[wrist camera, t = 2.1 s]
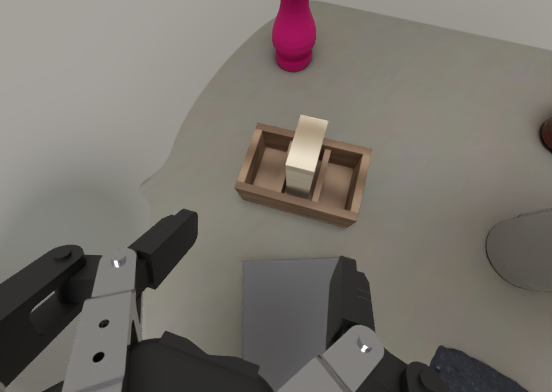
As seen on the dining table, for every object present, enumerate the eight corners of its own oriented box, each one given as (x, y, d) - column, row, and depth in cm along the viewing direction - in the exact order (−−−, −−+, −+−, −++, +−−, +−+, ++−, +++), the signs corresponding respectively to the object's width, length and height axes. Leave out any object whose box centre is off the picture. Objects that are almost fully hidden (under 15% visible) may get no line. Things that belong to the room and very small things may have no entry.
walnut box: (346, 228, 35) (356, 221, 29) (242, 199, 37) (234, 187, 31) (359, 166, 37) (372, 149, 32) (262, 142, 39) (257, 122, 34)
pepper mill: (310, 39, 45) (324, -129, 26) (316, 71, 43) (338, -87, 24) (271, 45, 45) (257, -118, 26) (276, 77, 43) (265, -75, 24)
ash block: (306, 202, 35) (314, 171, 24) (286, 196, 36) (285, 164, 24) (316, 165, 37) (328, 120, 25) (297, 161, 37) (300, 114, 26)
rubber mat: (244, 261, 34) (243, 261, 34) (342, 257, 34) (343, 257, 33) (243, 413, 29) (242, 416, 29) (359, 412, 29) (360, 415, 28)
